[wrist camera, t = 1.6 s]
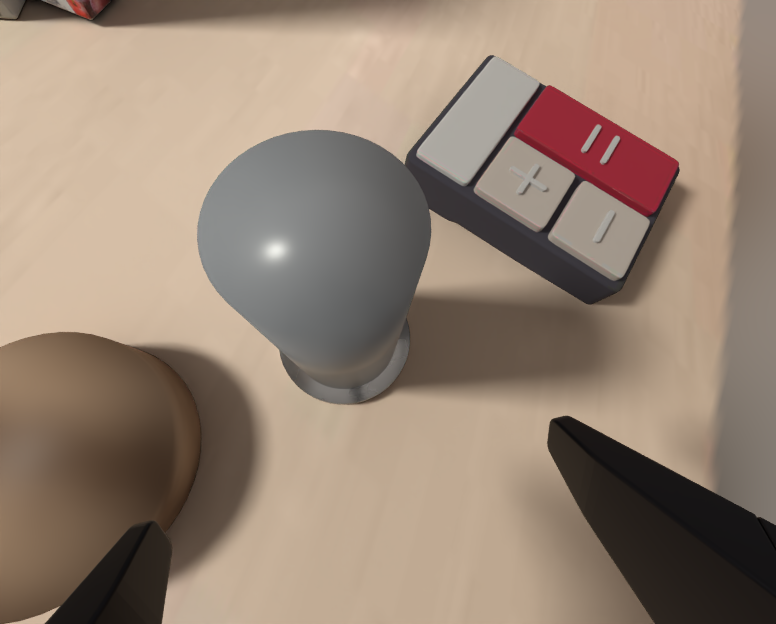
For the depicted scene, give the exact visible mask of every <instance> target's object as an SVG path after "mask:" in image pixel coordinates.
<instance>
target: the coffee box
mask: <svg viewBox="0 0 776 624" xmlns="http://www.w3.org/2000/svg"><path fill="white" fill-rule="evenodd" d="M24 2H25V0H0V18H7V19H17V18H18V16H19V13H20V11H21V9H22V7H23V5H24Z"/></svg>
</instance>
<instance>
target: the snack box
mask: <svg viewBox="0 0 776 624" xmlns="http://www.w3.org/2000/svg"><path fill="white" fill-rule="evenodd" d="M42 1H45V2H47V3H50V4H52V5H54V6H57V7H59V8H61V9H64V10H66V11H69V12H71V13H74V14H76V15H79V16H81V17H84V18H87V19H89V20H92V19H93V18H94V17H95V16H96V15H97V14H98V13H99V12H100V11H101V10H102V9H103V8H104V7H105V6H106V5H107V4H108V3H109V2H110V1H111V0H42Z"/></svg>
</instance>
